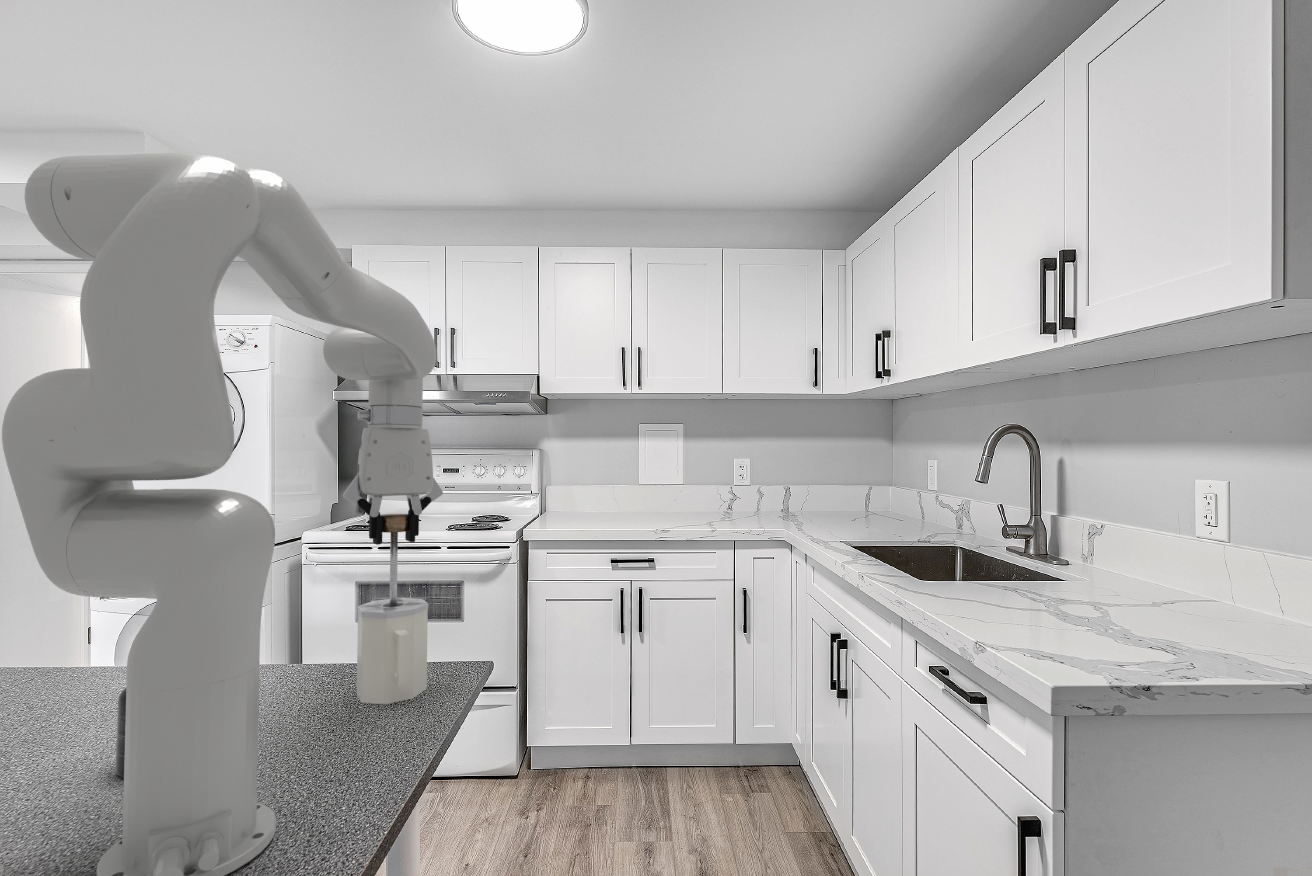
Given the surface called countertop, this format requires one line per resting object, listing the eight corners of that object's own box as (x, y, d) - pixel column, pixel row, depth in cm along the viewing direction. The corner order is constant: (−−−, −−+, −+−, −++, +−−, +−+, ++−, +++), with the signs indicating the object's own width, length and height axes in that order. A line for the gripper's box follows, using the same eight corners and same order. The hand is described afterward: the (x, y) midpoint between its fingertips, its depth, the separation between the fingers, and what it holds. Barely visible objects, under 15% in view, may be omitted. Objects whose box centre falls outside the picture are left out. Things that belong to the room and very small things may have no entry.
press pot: (437, 700, 91) (438, 609, 92) (367, 714, 86) (368, 618, 86) (416, 677, 101) (417, 595, 101) (352, 689, 95) (354, 603, 96)
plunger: (410, 633, 94) (411, 515, 95) (381, 637, 92) (382, 516, 92) (403, 627, 97) (405, 513, 98) (375, 631, 95) (377, 514, 96)
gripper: (337, 416, 88) (335, 549, 87) (459, 420, 97) (458, 541, 97) (330, 419, 94) (327, 543, 93) (444, 422, 104) (443, 536, 103)
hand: (394, 541), depth 95 cm, fingers closed on plunger, 4 cm apart
